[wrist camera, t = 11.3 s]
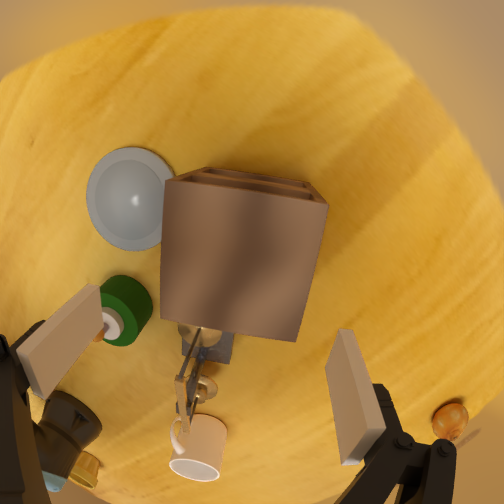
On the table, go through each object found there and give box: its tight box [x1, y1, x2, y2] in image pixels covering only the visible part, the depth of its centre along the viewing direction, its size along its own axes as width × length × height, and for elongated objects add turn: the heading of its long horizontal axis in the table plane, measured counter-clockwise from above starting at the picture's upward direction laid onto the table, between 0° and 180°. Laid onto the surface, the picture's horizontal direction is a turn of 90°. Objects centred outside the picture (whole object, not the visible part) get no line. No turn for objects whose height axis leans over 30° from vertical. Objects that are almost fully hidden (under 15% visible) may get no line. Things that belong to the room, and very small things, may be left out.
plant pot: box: [69, 452, 100, 489], centre depth 58 cm, size 10×10×10 cm
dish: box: [86, 147, 175, 251], centre depth 34 cm, size 13×13×1 cm
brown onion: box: [432, 403, 469, 441], centre depth 41 cm, size 8×8×8 cm
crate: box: [160, 167, 329, 342], centre depth 29 cm, size 12×12×13 cm
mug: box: [169, 414, 227, 481], centre depth 43 cm, size 9×12×11 cm
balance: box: [174, 322, 234, 434], centre depth 33 cm, size 7×18×16 cm, turn 172°
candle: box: [93, 275, 153, 346], centre depth 35 cm, size 8×8×10 cm
